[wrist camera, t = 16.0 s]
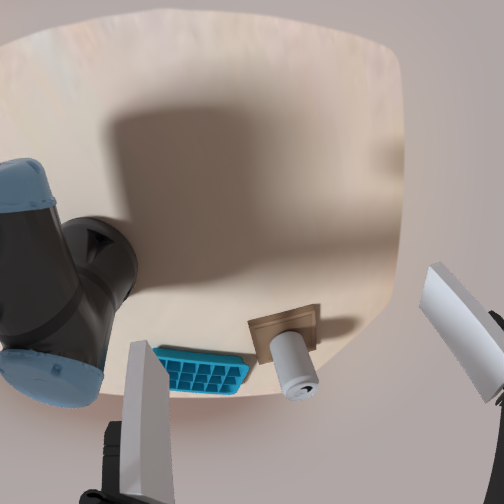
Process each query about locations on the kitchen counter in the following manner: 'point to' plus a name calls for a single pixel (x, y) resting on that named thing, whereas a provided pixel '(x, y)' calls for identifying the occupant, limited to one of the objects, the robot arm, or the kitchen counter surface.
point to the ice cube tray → (202, 371)
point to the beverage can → (294, 366)
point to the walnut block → (283, 330)
